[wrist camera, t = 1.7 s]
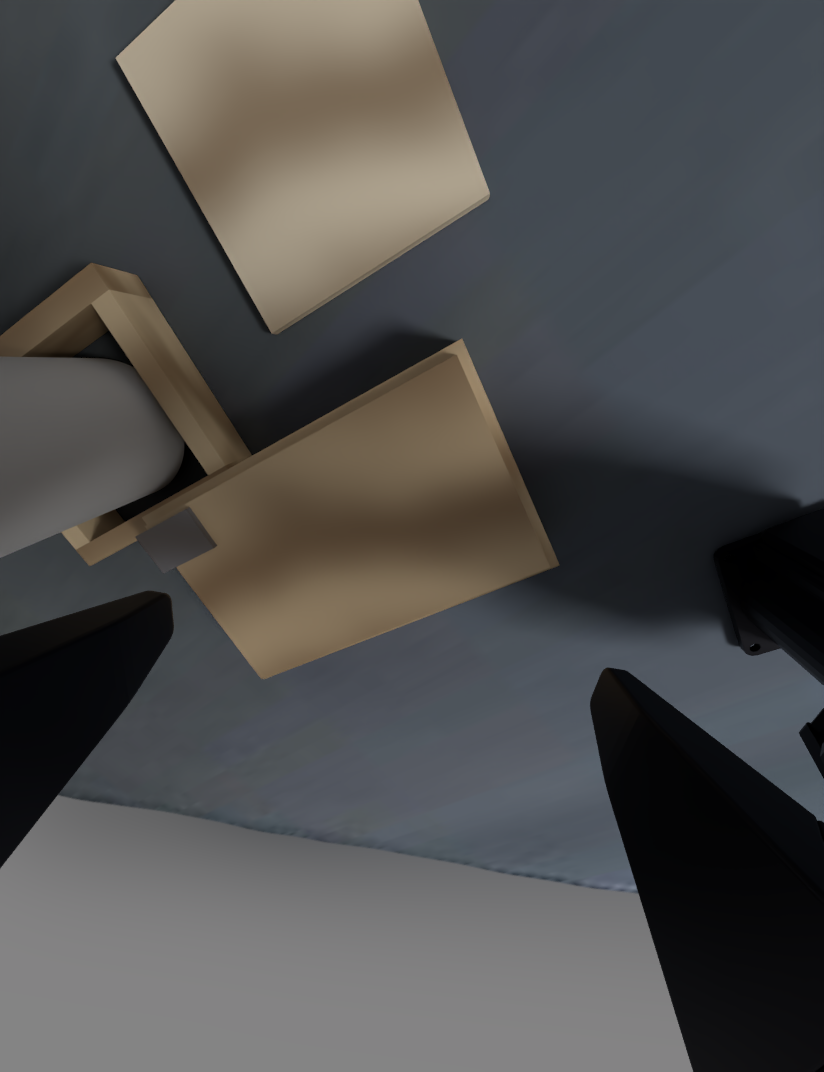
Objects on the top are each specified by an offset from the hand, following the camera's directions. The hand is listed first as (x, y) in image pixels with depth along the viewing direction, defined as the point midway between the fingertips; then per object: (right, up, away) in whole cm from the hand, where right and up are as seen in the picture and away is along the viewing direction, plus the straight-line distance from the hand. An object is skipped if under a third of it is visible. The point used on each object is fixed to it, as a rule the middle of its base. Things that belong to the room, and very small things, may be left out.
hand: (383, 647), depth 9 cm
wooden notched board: (-6, +6, +12) cm, 15 cm away
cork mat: (-3, +17, +7) cm, 19 cm away
